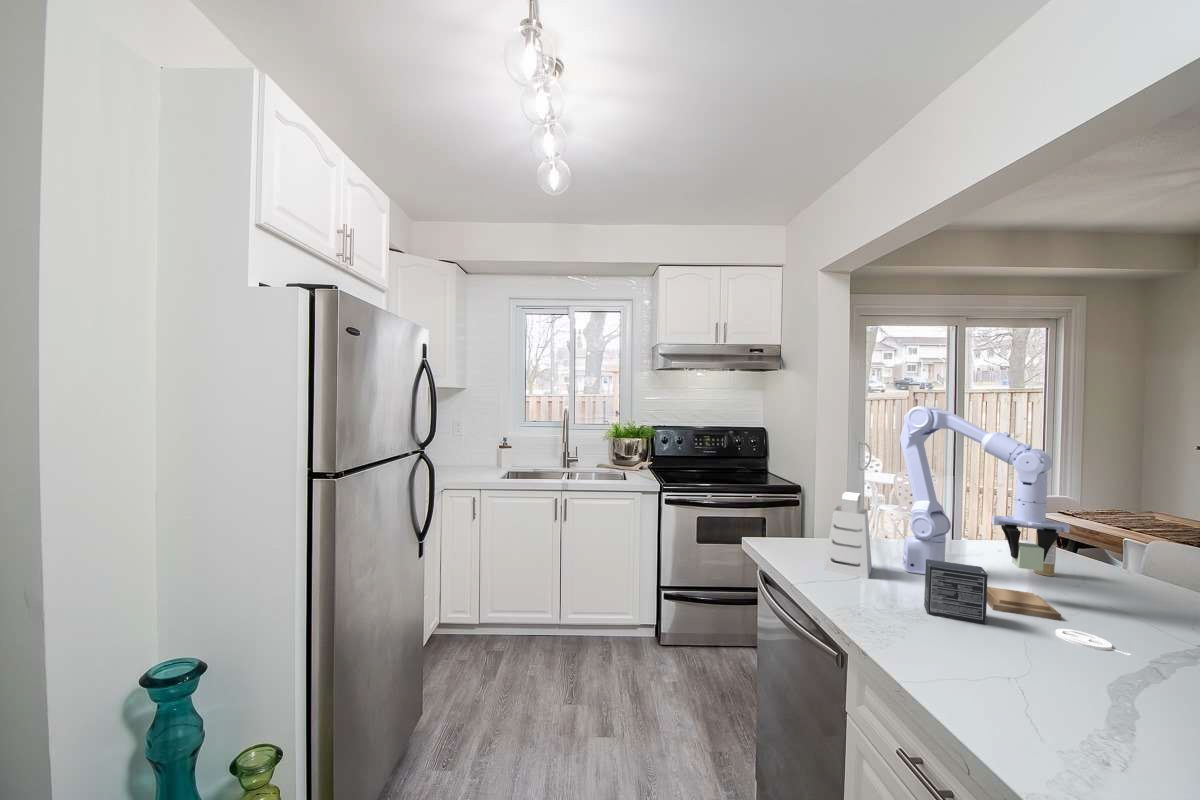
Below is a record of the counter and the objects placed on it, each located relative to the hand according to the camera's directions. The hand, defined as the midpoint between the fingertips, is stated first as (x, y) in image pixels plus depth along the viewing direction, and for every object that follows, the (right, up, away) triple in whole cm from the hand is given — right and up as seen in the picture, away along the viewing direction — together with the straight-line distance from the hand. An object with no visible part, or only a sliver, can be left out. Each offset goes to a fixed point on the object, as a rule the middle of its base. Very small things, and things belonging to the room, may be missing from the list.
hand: (1027, 558), depth 126 cm
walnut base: (-6, -9, -4) cm, 12 cm away
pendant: (-5, -10, -23) cm, 25 cm away
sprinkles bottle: (+20, -10, +20) cm, 30 cm away
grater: (-34, -8, +17) cm, 39 cm away
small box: (-25, -9, -11) cm, 28 cm away
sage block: (0, -2, 0) cm, 2 cm away
